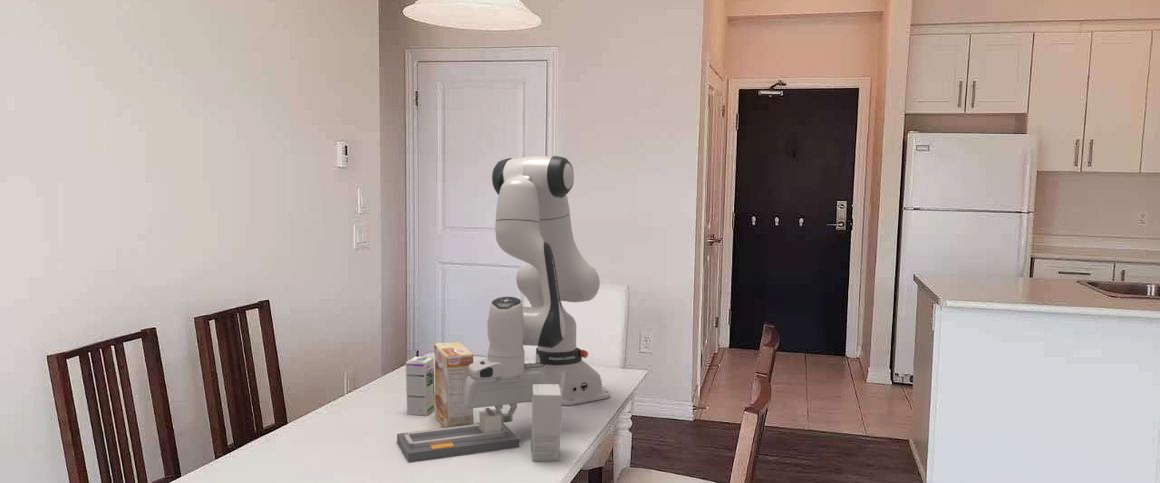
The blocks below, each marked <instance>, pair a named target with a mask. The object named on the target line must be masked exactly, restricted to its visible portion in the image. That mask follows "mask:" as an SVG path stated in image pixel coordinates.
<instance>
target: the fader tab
mask: <svg viewBox="0 0 1160 483" xmlns="http://www.w3.org/2000/svg"><path fill="white" fill-rule="evenodd" d="M478 424H479V430H480V431H481V432H482V433H488V432H496V431H501V414H499V413H498V412H497V410H496V409H495V408H494V409H492V408H490V407H485V409H484V410H479V411H478Z"/></svg>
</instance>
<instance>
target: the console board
mask: <svg viewBox="0 0 1160 483" xmlns="http://www.w3.org/2000/svg"><path fill="white" fill-rule="evenodd" d="M520 441H521V440H520V438H519V437H518V436H517V434H515V433H514V431H512V430H511V428H510V427H508V426H507V425H506V424H505V422H504V423H501V431H496V432H488V433H482V432H481V431H480V430H479V423H476V424H474V425H465V426H457V427H449V428H443V427H442V428H431V429H422V430H416V431H409V432H401V433H397V434H396V442H397V445H398V446H399V448H400V449H401V451H402V453H403V455H404V457H405V459H406V461H407V462H408V463H412V462H413V463H414V462H419V461H426V460H434V459H441V458H442V459H443V458H449V457H456V456H462V455H464V456H465V455H471V454H472V455H473V454H477V453H478V454H479V453H486V452H493V451H500V450H508V449H515V448H520V447H521V446H520V445H521V444H520V443H521V442H520Z"/></svg>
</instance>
